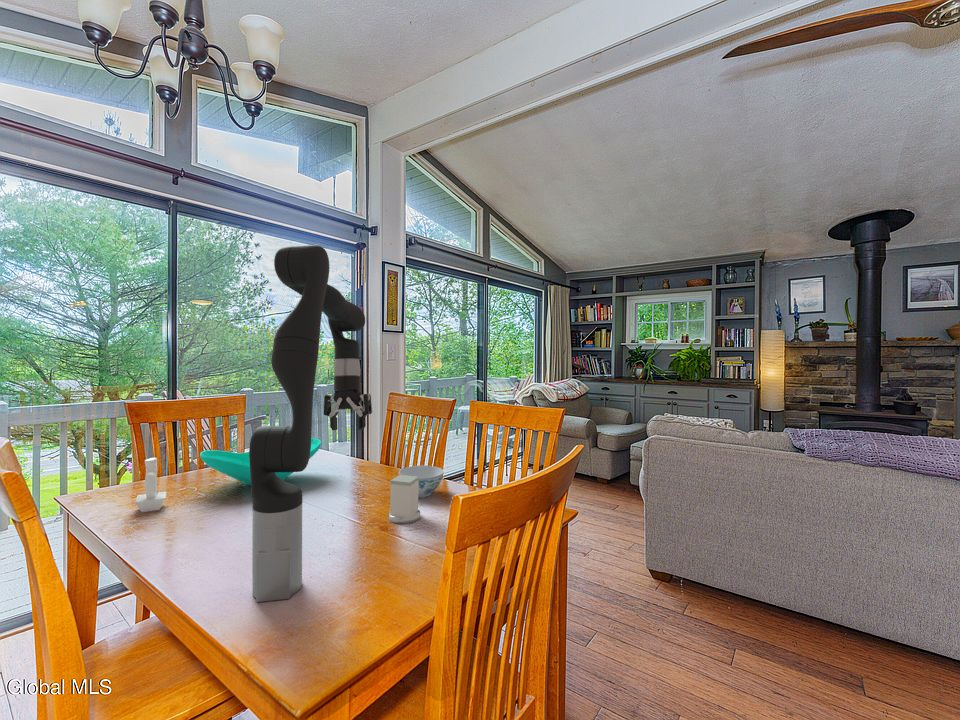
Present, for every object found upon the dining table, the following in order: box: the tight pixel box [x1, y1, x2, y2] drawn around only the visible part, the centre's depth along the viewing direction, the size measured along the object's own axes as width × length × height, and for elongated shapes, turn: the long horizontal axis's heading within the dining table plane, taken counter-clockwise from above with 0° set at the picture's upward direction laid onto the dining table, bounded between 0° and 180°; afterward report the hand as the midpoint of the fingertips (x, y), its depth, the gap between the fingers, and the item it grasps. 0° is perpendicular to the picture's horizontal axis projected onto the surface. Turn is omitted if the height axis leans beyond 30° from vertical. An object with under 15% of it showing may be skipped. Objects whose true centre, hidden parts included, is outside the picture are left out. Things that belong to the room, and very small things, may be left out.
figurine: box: [134, 457, 168, 513], centre depth 134 cm, size 7×9×15 cm
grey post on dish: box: [388, 509, 421, 525], centre depth 130 cm, size 9×9×8 cm
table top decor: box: [199, 437, 323, 486], centre depth 160 cm, size 40×28×13 cm
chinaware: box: [398, 465, 445, 498], centre depth 151 cm, size 15×15×8 cm
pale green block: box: [389, 474, 419, 518], centre depth 130 cm, size 6×6×10 cm
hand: (347, 430), depth 132 cm, fingers open, 8 cm apart
